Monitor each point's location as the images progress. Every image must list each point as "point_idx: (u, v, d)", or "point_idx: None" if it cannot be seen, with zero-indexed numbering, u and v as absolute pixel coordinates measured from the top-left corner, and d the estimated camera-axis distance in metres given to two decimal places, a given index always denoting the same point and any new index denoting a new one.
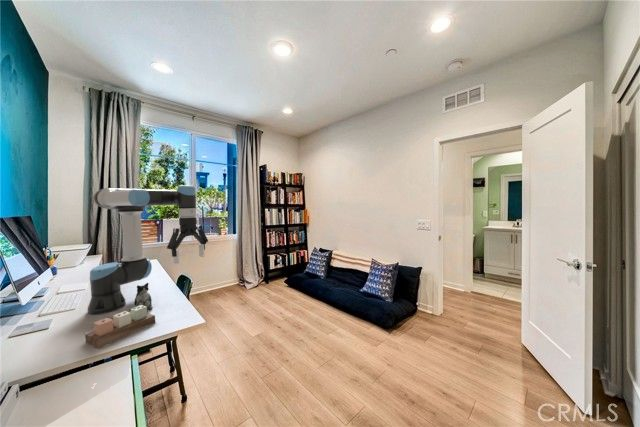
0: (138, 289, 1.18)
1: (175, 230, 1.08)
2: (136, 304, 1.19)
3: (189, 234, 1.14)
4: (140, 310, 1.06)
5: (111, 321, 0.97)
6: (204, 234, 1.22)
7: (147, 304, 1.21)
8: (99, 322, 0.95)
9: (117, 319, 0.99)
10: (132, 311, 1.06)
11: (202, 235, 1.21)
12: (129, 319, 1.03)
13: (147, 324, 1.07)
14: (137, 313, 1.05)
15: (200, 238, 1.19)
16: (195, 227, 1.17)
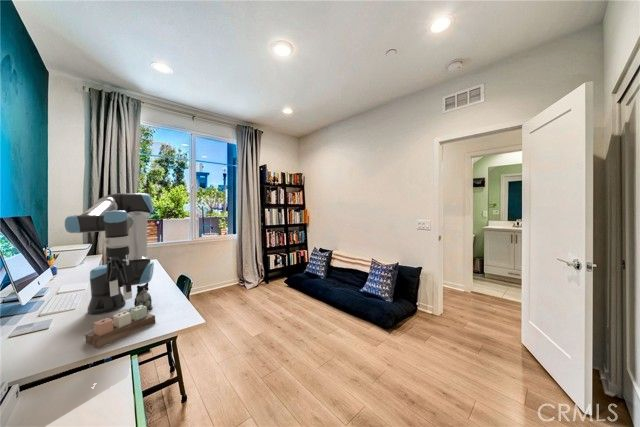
0: (138, 289, 1.18)
1: None
2: (136, 304, 1.19)
3: (115, 266, 1.00)
4: (140, 310, 1.06)
5: (111, 321, 0.97)
6: (125, 273, 0.97)
7: (147, 304, 1.21)
8: (99, 322, 0.95)
9: (117, 319, 0.99)
10: (132, 311, 1.06)
11: None
12: (129, 319, 1.03)
13: (147, 324, 1.07)
14: (137, 313, 1.05)
15: (122, 276, 0.98)
16: (119, 260, 0.98)
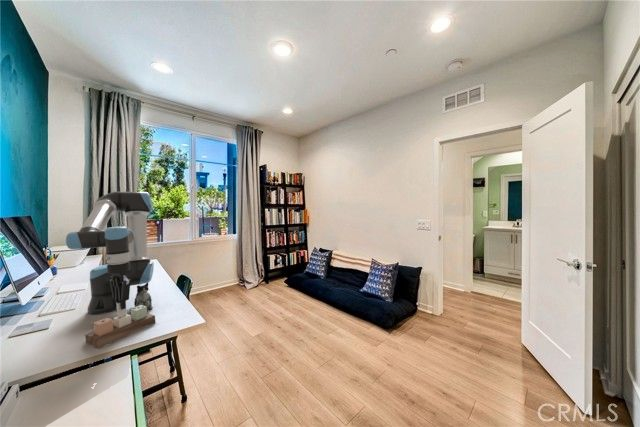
0: (138, 289, 1.18)
1: None
2: (136, 304, 1.19)
3: None
4: (140, 310, 1.06)
5: (111, 321, 0.97)
6: (122, 292, 0.98)
7: (147, 304, 1.21)
8: (99, 322, 0.95)
9: (117, 322, 0.99)
10: (132, 311, 1.06)
11: None
12: (129, 321, 1.03)
13: (147, 324, 1.07)
14: (137, 313, 1.05)
15: (118, 293, 0.99)
16: (120, 276, 0.98)
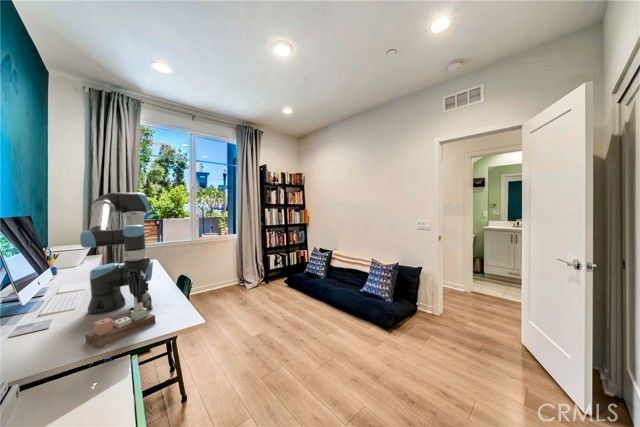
0: None
1: None
2: None
3: None
4: (140, 312, 1.06)
5: (111, 321, 0.97)
6: (139, 286, 1.04)
7: (147, 304, 1.21)
8: (99, 322, 0.95)
9: (118, 325, 1.00)
10: (132, 313, 1.06)
11: None
12: None
13: (147, 324, 1.07)
14: (137, 315, 1.05)
15: (135, 287, 1.05)
16: (137, 272, 1.04)
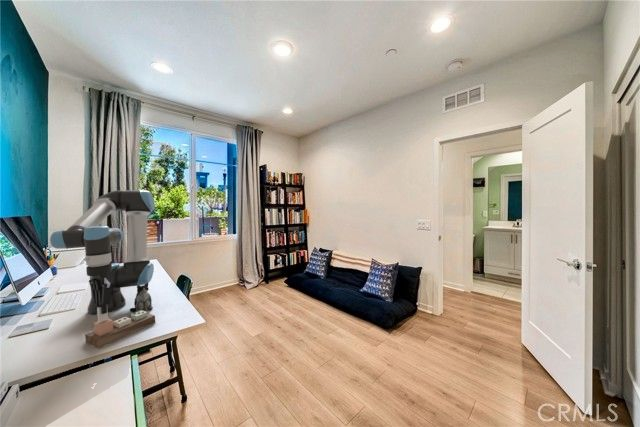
0: (138, 289, 1.18)
1: None
2: (136, 304, 1.19)
3: None
4: (140, 316, 1.07)
5: (111, 321, 0.97)
6: (103, 295, 0.92)
7: (147, 304, 1.21)
8: None
9: (118, 325, 1.00)
10: (132, 317, 1.06)
11: None
12: None
13: (147, 324, 1.07)
14: (137, 319, 1.05)
15: (99, 297, 0.94)
16: (101, 279, 0.92)
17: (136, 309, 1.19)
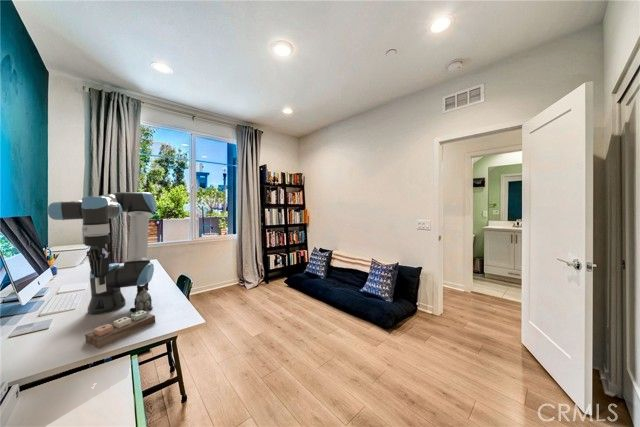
0: (138, 289, 1.18)
1: None
2: (136, 304, 1.19)
3: None
4: (140, 316, 1.07)
5: (111, 327, 0.97)
6: (101, 266, 0.92)
7: (147, 304, 1.21)
8: (99, 328, 0.95)
9: (118, 325, 1.00)
10: (132, 317, 1.06)
11: None
12: None
13: (147, 324, 1.07)
14: (137, 319, 1.05)
15: (97, 267, 0.93)
16: (98, 249, 0.92)
17: (136, 309, 1.19)
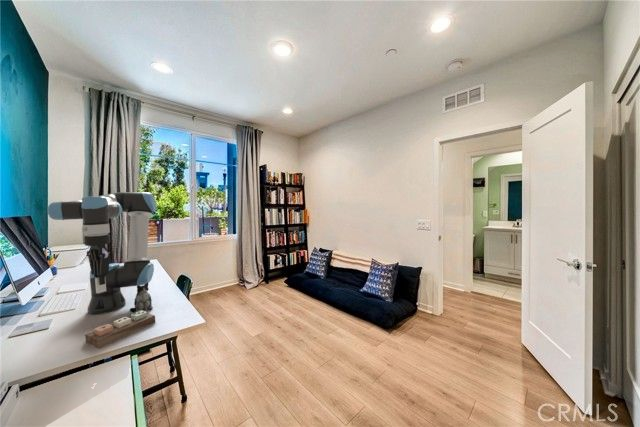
0: (138, 289, 1.18)
1: None
2: (136, 304, 1.19)
3: None
4: (140, 316, 1.07)
5: (111, 327, 0.97)
6: (101, 265, 0.92)
7: (147, 304, 1.21)
8: (99, 328, 0.95)
9: (118, 325, 1.00)
10: (132, 317, 1.06)
11: None
12: None
13: (147, 324, 1.07)
14: (137, 319, 1.05)
15: (97, 267, 0.93)
16: (98, 249, 0.92)
17: (136, 309, 1.19)
